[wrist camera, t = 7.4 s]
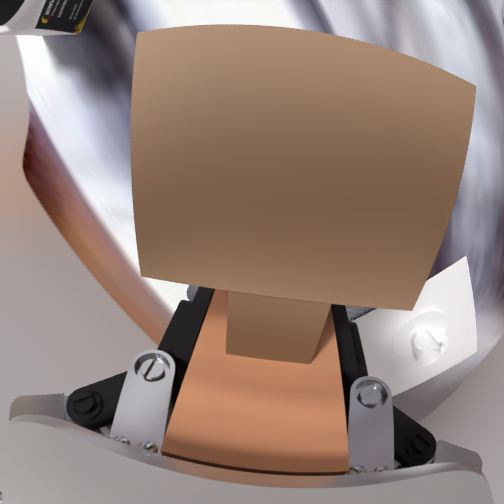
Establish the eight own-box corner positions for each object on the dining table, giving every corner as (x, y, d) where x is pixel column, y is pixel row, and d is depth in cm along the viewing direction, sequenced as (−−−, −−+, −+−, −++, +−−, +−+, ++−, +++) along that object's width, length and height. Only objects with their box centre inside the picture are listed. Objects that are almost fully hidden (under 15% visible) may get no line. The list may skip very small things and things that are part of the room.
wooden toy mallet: (215, 68, 8) (13, 0, 1) (380, 91, 7) (594, 103, 1) (210, 423, 19) (189, 514, 12) (281, 433, 18) (273, 525, 11)
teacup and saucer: (450, 338, 29) (461, 360, 26) (400, 365, 32) (408, 388, 28) (441, 296, 26) (456, 319, 23) (383, 329, 29) (392, 354, 25)
